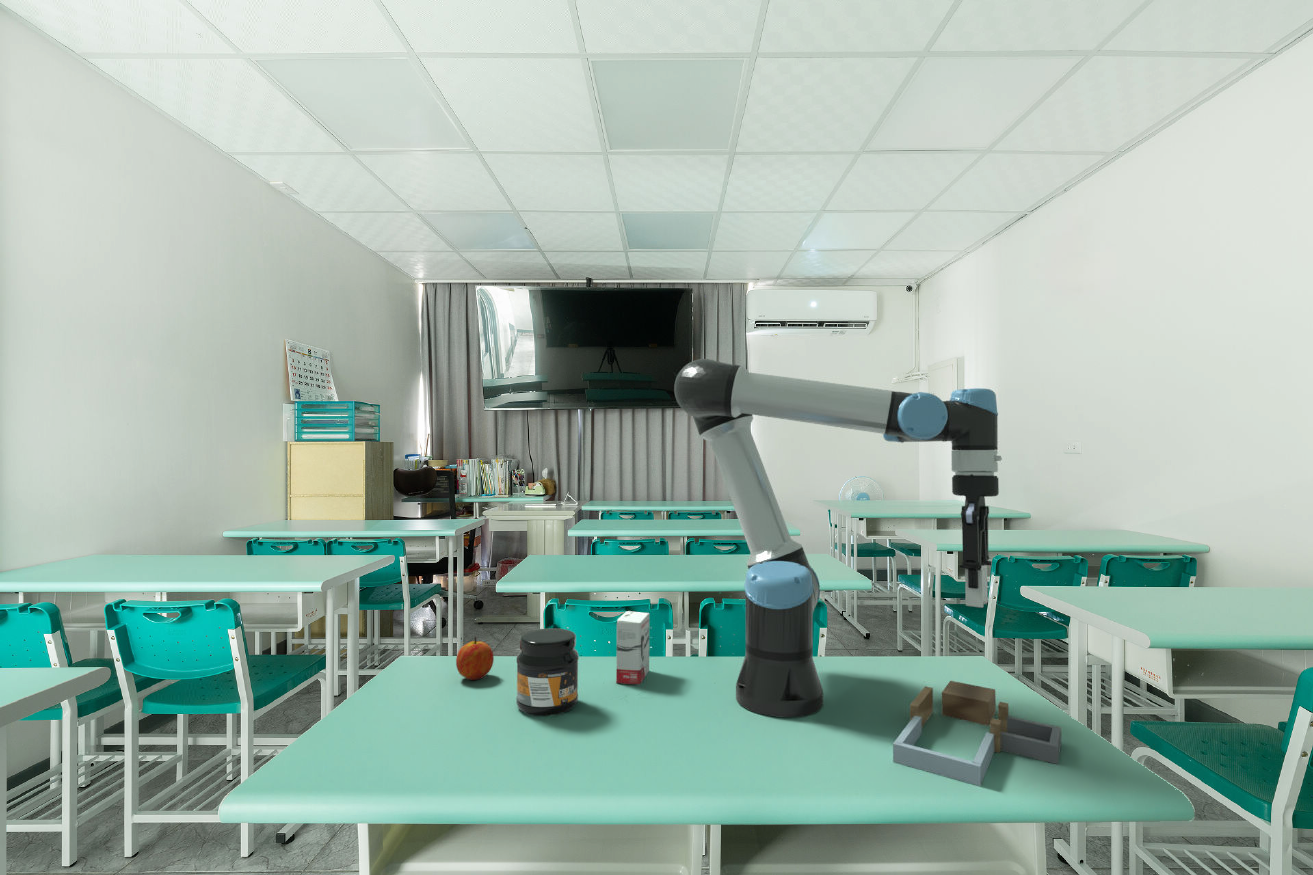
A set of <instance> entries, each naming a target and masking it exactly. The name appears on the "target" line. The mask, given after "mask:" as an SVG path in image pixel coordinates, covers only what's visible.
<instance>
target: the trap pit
mask: <svg viewBox="0 0 1313 875" xmlns="http://www.w3.org/2000/svg"><path fill="white" fill-rule="evenodd" d="M1000 735H1001V751H1002V752H1006V753H1010V754H1014V755H1018V756H1022V757H1025V758H1031V759H1035V760H1038V761H1043V762H1047V763H1051V764H1055V765H1058V764H1059V759H1060V753H1061V747H1062V727H1061V726H1058V725H1052V724H1049V723H1044V722H1043V723H1042V722H1037V721H1034V720H1028V719H1025V718H1020V717H1017V716H1016V717H1015V716H1010V715H1009V716H1007V732H1002V731H1001V734H1000ZM1001 751H1000V752H1001Z"/></svg>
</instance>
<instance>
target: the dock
mask: <svg viewBox="0 0 1313 875" xmlns="http://www.w3.org/2000/svg"><path fill="white" fill-rule="evenodd" d="M922 728H923V727H922V723H921V717H918V716H914V717H913V718H912V720H911V721H910V720H909V722H908V723H907V725H906V726H905V727H904V728H903V730H902V731H901V732H900V734H899V735H898V736H897V738H895V741H894V742H892V762H893V763H895V764H899V765H900V764H901V765H904V766H907V767H911V768H915V769H917V770H922V771H925V772H928V773H932V774H936V775H939V776H943V777H945V778H946V777H947V778H949V779H953V780H957V781H961V782H965V783H968V784H971V785H975V786H978V787H981V786H982V783H983V781H984V778H985V776H986V774H987V772H988V768H989V765H990V763H991V761H992V758H993V755H994V753H995V752H994V734H991V733H990V732H987V731H986V732H985V734H984V737H983V739H982V741H981V744H980V745H979V748H978V750H977V752H976V754H975V756H974V758H973V760H968V759H965V758H962V757H958V756H953V755H950V754H946V753H942V752H938V751H934V750H931V749H927V748H922V747H919V746H915V744H916V742H917V741H918V739H920V737H921V735H922V734H923V733H922V732H923V730H922Z"/></svg>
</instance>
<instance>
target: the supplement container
mask: <svg viewBox="0 0 1313 875" xmlns="http://www.w3.org/2000/svg"><path fill="white" fill-rule="evenodd" d="M576 644H577V635H576V633H575V632H574V631H572V630H569V629H564V628H538V629H533V630H530V631H526V632H524V633H523V634H521V635H520V637H519V649H520V651H519V652H518V654H517V656H516V664H517V665H516V666H517V667H516V668H517V670H516V672H517V674H516V675H517V676H516V698H515V699H516V702H515V703H516V706H517V707H518V709H519V710H520V711H521V712H523V713H525V714H526V715H530V716H536V717H549V716H557V715H561V714H563V713H567V712H568V711H570V710H571V709H573V708H574V707H575V706H576V705H577V703H578V700H579V693H578V690H579V689H578V688H579V686H578V682H579V679H578V678H579V677H578V676H579V671H578V670H579V668H578V667H579V666H578V665H579V659H580V658H579V657H580V656H579V652H578V650H577V649H575V647H576V646H577V645H576Z"/></svg>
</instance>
